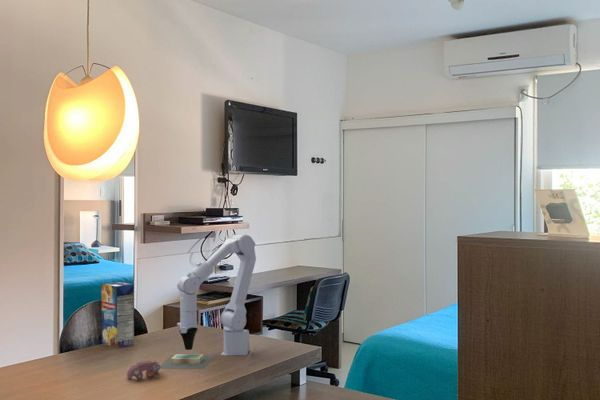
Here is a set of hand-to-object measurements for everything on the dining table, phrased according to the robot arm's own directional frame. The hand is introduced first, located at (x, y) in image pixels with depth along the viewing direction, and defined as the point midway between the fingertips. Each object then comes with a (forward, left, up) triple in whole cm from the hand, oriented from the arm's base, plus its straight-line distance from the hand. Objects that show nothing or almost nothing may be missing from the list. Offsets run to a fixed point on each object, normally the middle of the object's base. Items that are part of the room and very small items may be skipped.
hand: (188, 349), depth 203 cm
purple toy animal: (+10, +19, -4) cm, 22 cm away
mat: (0, +2, -4) cm, 5 cm away
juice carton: (+35, -25, -4) cm, 43 cm away
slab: (0, -1, -3) cm, 3 cm away
